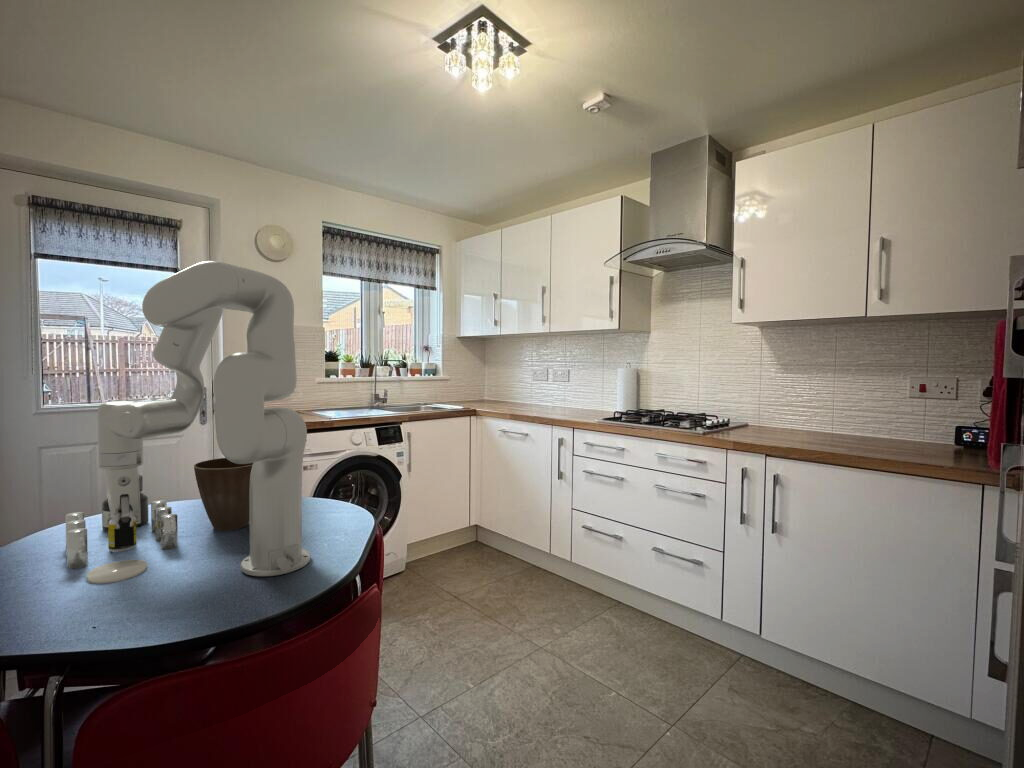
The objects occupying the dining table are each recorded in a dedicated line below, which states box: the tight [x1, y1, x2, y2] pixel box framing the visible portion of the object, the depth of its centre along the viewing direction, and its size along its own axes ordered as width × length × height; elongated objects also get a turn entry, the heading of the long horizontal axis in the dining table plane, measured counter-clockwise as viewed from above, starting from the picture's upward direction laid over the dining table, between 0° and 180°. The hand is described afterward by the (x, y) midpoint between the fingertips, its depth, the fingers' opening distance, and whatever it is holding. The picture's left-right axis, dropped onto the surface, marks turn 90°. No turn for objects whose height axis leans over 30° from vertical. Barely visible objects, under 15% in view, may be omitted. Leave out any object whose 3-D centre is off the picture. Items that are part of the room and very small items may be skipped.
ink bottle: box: [101, 474, 149, 532], centre depth 121 cm, size 10×9×12 cm
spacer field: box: [65, 499, 179, 570], centre depth 108 cm, size 17×18×7 cm
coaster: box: [86, 559, 148, 585], centre depth 95 cm, size 9×9×1 cm
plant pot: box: [193, 457, 254, 532], centre depth 122 cm, size 15×15×16 cm
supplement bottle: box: [107, 508, 137, 553], centre depth 107 cm, size 5×5×8 cm
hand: (122, 541), depth 107 cm, fingers open, 5 cm apart
